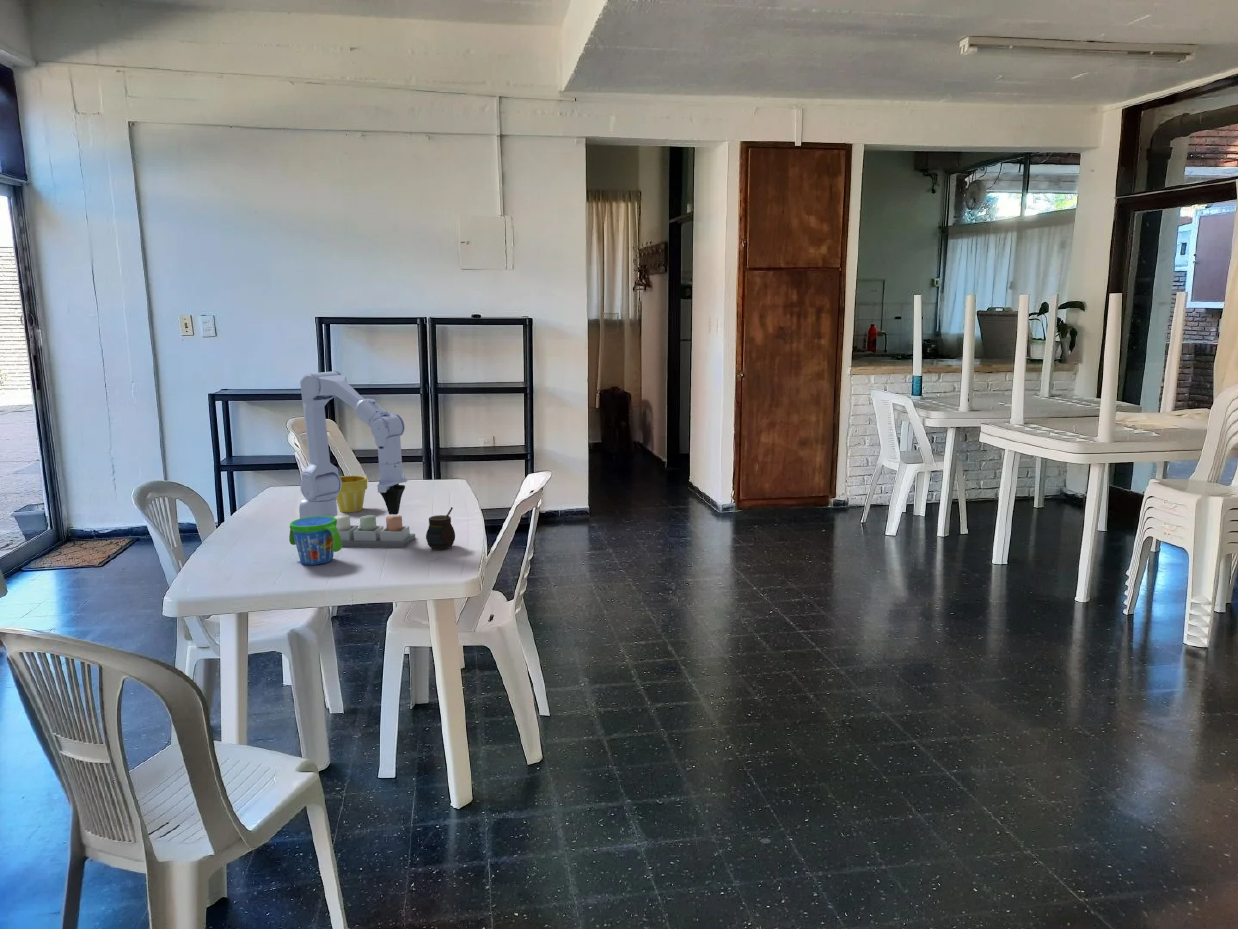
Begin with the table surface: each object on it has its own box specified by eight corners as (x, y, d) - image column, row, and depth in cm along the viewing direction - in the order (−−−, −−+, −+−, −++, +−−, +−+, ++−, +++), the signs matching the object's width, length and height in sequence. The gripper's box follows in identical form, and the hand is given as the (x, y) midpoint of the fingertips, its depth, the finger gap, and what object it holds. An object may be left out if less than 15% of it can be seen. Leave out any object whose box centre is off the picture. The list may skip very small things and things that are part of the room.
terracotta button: (384, 534, 215) (383, 519, 214) (390, 530, 219) (389, 515, 218) (399, 534, 215) (398, 519, 214) (404, 530, 219) (404, 515, 218)
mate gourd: (420, 549, 211) (418, 510, 209) (442, 542, 217) (440, 505, 216) (440, 553, 207) (438, 514, 205) (462, 546, 213) (460, 508, 212)
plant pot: (362, 514, 249) (360, 482, 247) (328, 514, 249) (325, 482, 247) (373, 506, 259) (371, 475, 257) (340, 506, 259) (338, 475, 257)
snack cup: (278, 561, 202) (274, 521, 200) (316, 551, 211) (312, 512, 209) (317, 572, 193) (314, 530, 191) (355, 561, 202) (352, 520, 200)
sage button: (358, 533, 216) (357, 518, 215) (364, 529, 220) (363, 515, 219) (373, 534, 215) (372, 519, 215) (379, 530, 219) (378, 515, 218)
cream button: (332, 533, 216) (331, 518, 216) (338, 529, 220) (337, 514, 219) (347, 533, 216) (346, 518, 215) (353, 529, 220) (352, 515, 219)
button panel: (322, 546, 214) (321, 532, 214) (336, 537, 223) (335, 523, 223) (403, 547, 213) (402, 533, 212) (415, 538, 221) (414, 524, 221)
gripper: (395, 467, 206) (399, 521, 208) (414, 457, 220) (417, 507, 223) (367, 467, 207) (371, 520, 209) (388, 457, 221) (392, 507, 223)
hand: (393, 514), depth 216 cm, fingers closed
